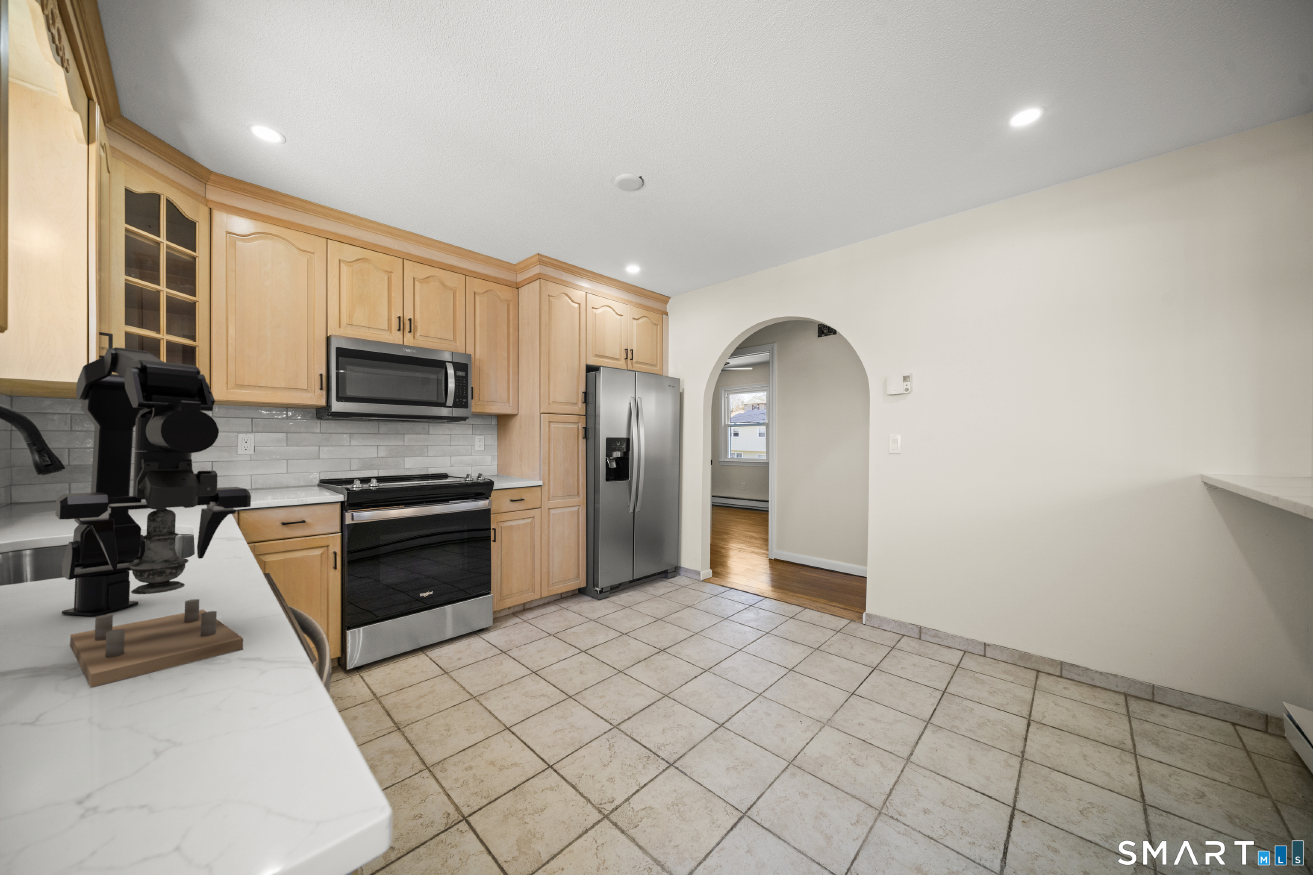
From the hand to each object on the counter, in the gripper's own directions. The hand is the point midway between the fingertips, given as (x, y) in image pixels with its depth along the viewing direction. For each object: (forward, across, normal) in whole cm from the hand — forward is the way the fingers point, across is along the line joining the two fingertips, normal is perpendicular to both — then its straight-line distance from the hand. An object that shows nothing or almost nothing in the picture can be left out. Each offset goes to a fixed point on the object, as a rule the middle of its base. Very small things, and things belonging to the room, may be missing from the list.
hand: (159, 563), depth 70 cm
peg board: (+12, 0, 0) cm, 12 cm away
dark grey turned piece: (+4, 0, 0) cm, 4 cm away
